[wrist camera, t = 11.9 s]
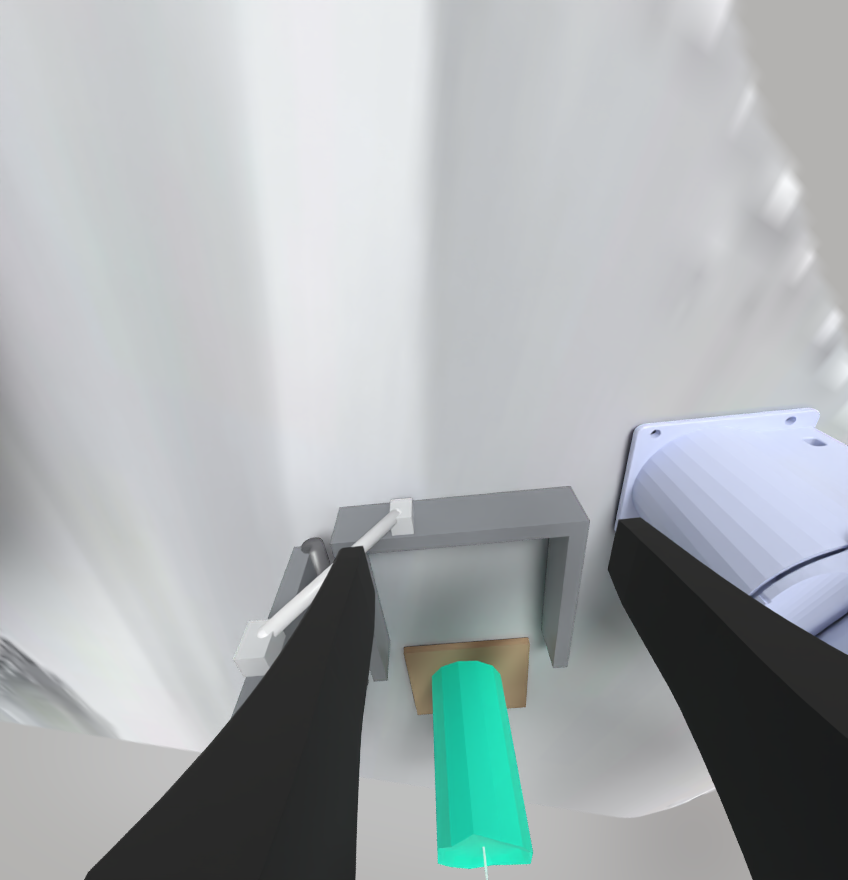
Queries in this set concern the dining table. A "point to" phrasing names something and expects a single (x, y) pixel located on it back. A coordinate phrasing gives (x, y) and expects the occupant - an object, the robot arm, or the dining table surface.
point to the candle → (476, 771)
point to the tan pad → (501, 654)
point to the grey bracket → (424, 529)
